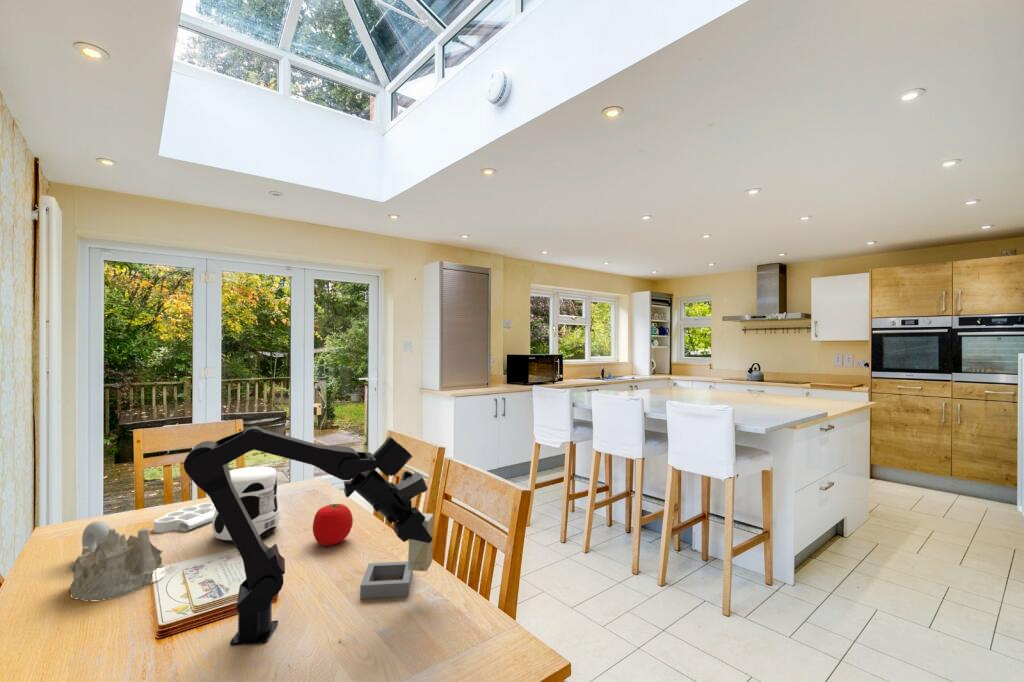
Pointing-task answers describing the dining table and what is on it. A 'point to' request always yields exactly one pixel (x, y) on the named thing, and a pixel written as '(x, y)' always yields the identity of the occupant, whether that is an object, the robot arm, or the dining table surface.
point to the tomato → (332, 524)
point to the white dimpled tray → (185, 518)
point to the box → (421, 548)
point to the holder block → (386, 587)
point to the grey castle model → (115, 566)
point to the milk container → (253, 500)
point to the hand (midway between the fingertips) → (426, 535)
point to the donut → (95, 534)
